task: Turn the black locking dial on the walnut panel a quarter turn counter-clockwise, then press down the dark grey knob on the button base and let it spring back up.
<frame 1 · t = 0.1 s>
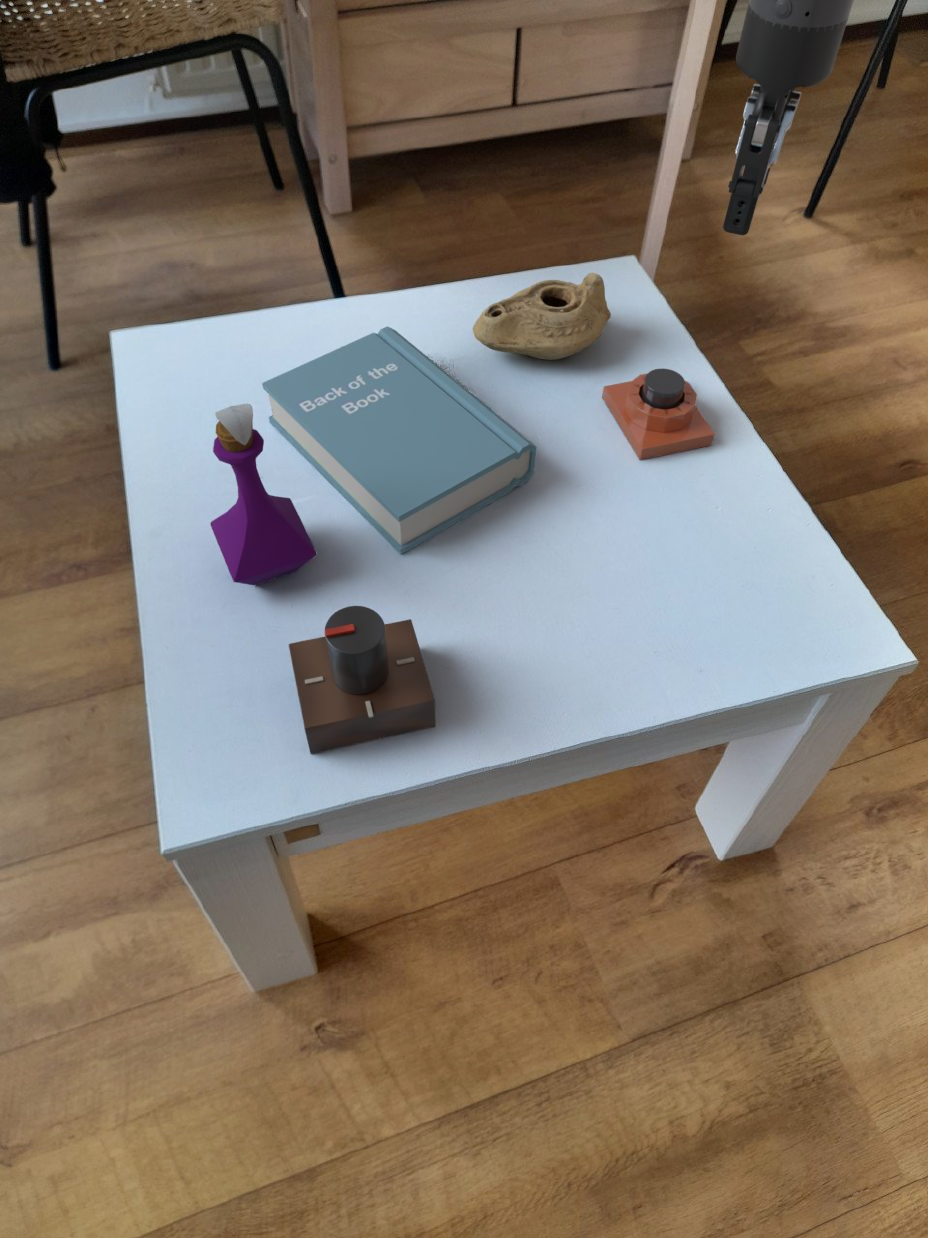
hand: (744, 207, 83), 20 cm above the table, tool pointing down, fingers open, 8 cm apart
perfume bottle: (268, 563, 84), on the table
book: (398, 451, 93), on the table
dark grey knob: (663, 389, 93), point 4 cm above the table, slide at 0.1 cm
dial: (357, 649, 70), point 7 cm above the table, hinge at 0.0°
dial panel: (363, 698, 75), on the table
button base: (655, 420, 96), on the table
oil lamp: (539, 349, 103), on the table
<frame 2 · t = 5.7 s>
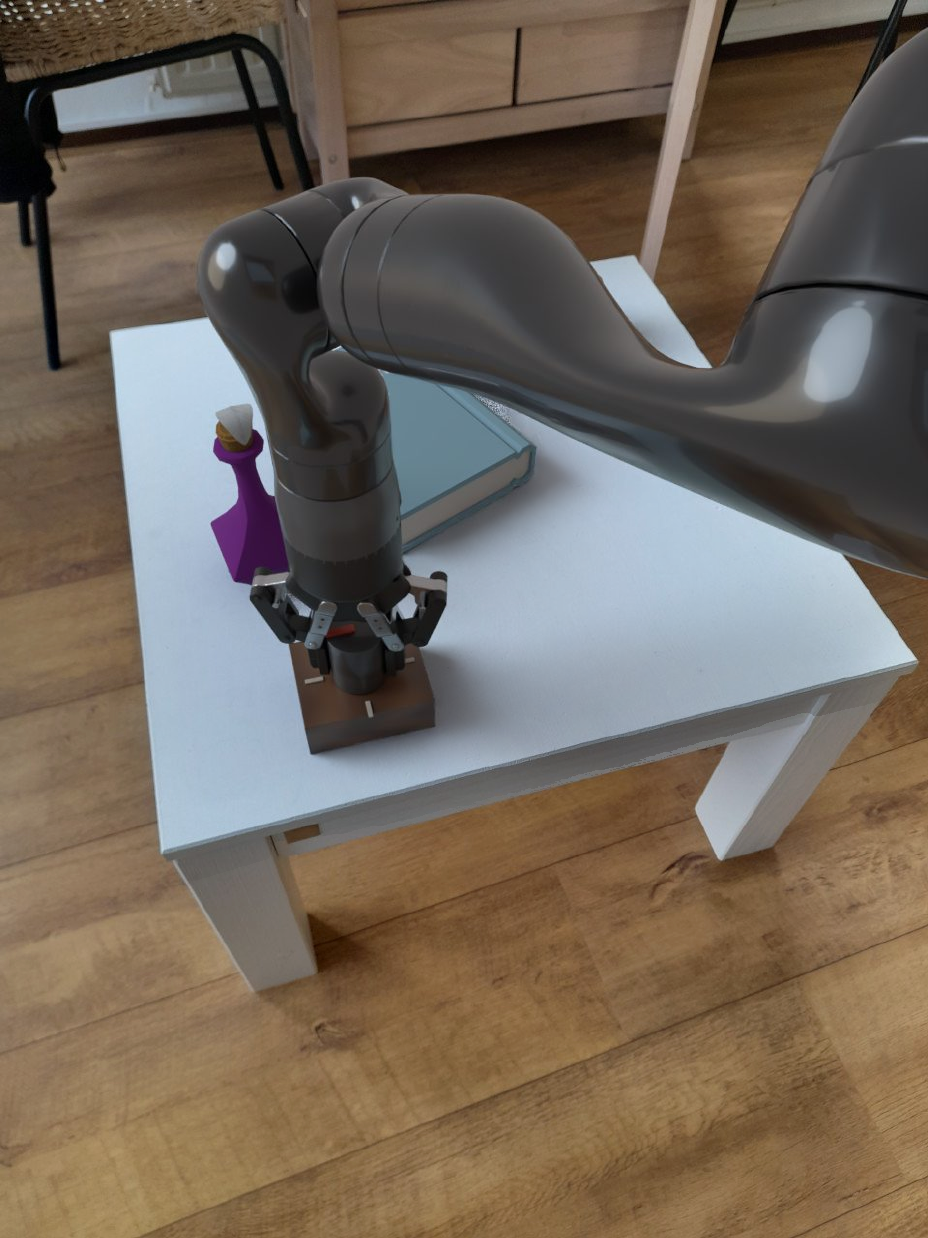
hand: (359, 665, 71), 5 cm above the table, tool pointing down, fingers closed on dial, 4 cm apart
dial: (357, 649, 70), point 7 cm above the table, hinge at 0.1°, touching gripper
everything else where it was.
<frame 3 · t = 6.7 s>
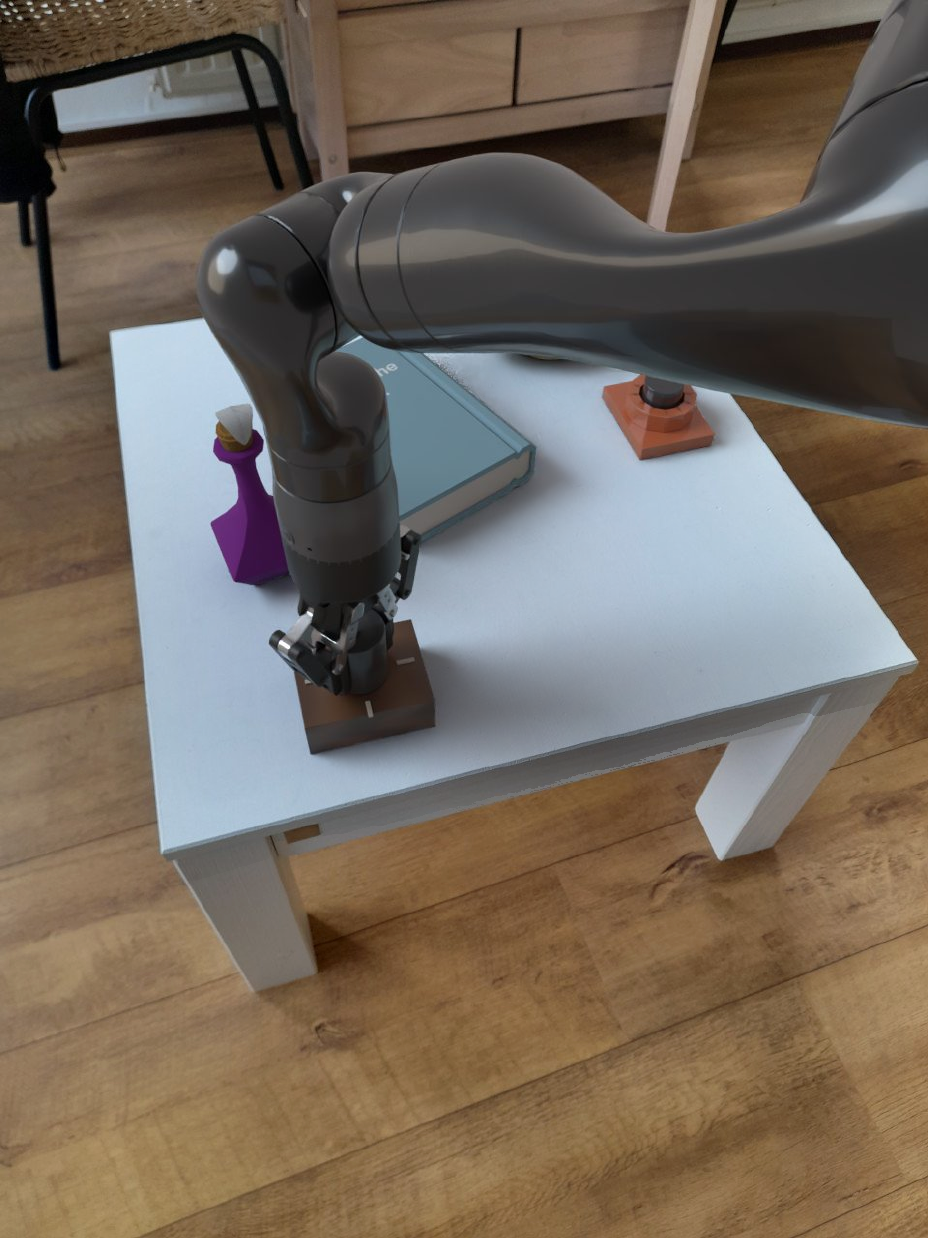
hand: (359, 664, 71), 5 cm above the table, tool pointing down, fingers closed on dial, 4 cm apart
dial: (357, 649, 70), point 7 cm above the table, hinge at 56.0°, touching gripper
everything else where it was.
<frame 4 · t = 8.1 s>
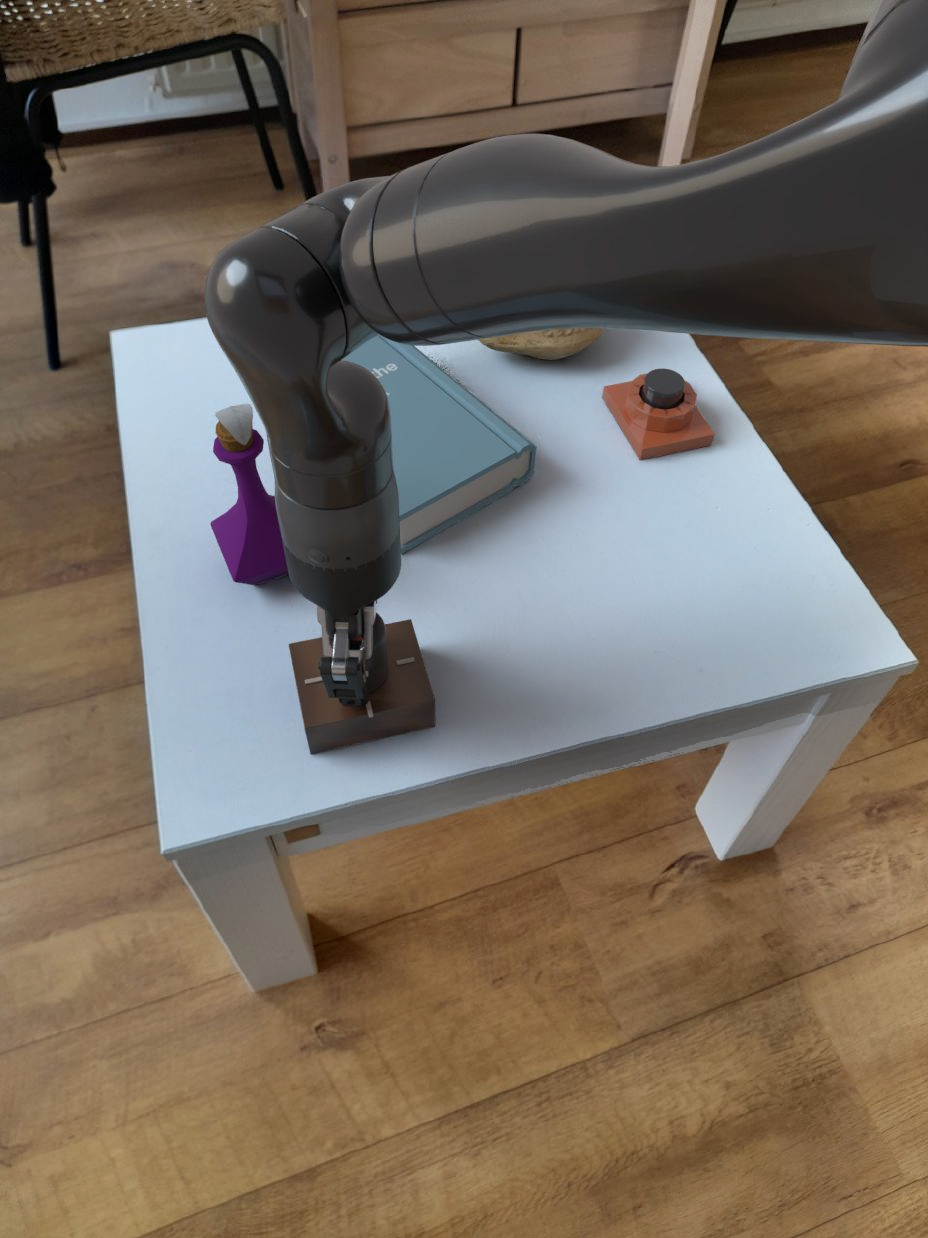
hand: (357, 670, 72), 4 cm above the table, tool pointing down, fingers open, 4 cm apart
dial: (357, 649, 70), point 7 cm above the table, hinge at 92.1°
everything else where it was.
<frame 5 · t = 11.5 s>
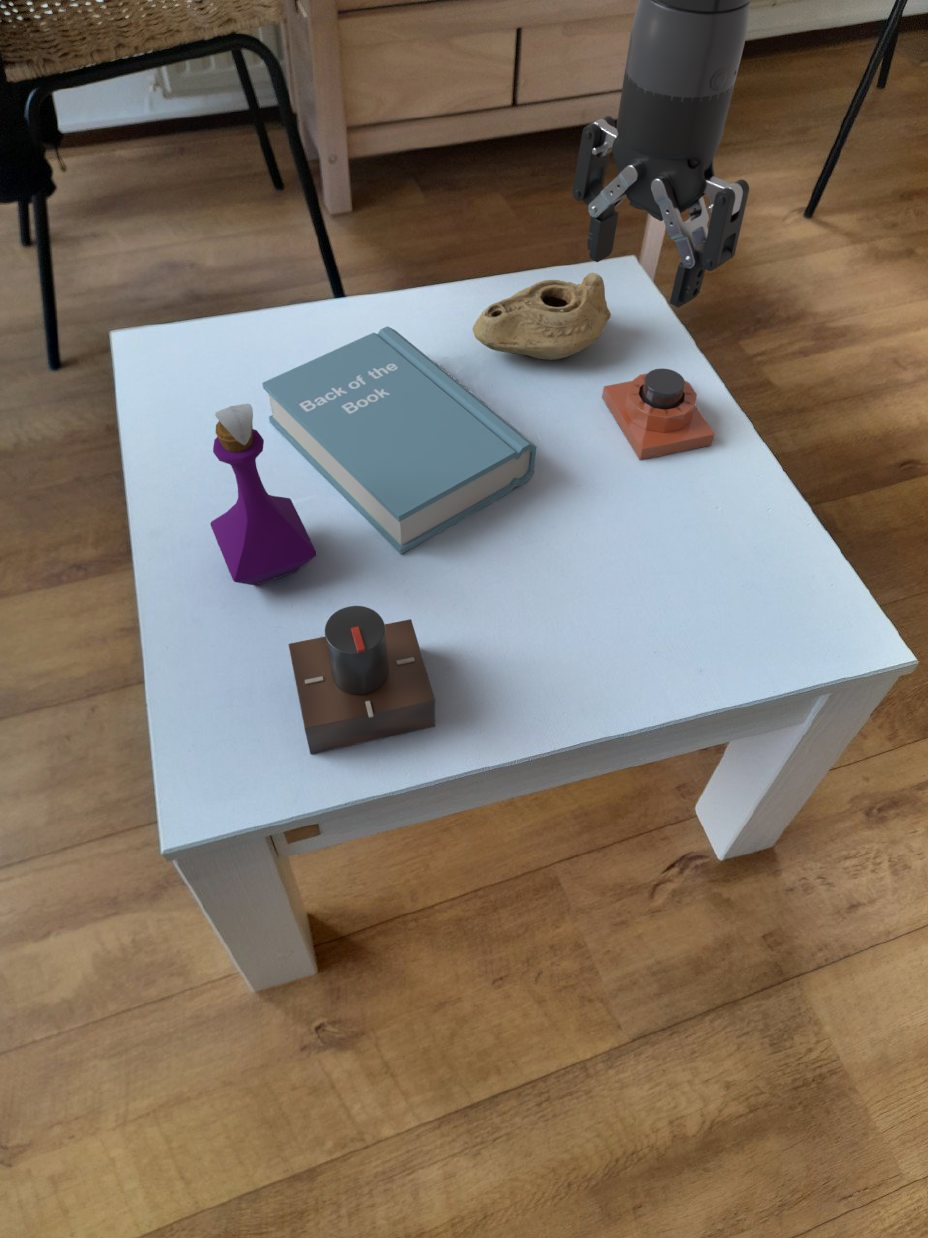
hand: (639, 278, 76), 20 cm above the table, tool pointing down, fingers open, 8 cm apart
nothing on the table moved.
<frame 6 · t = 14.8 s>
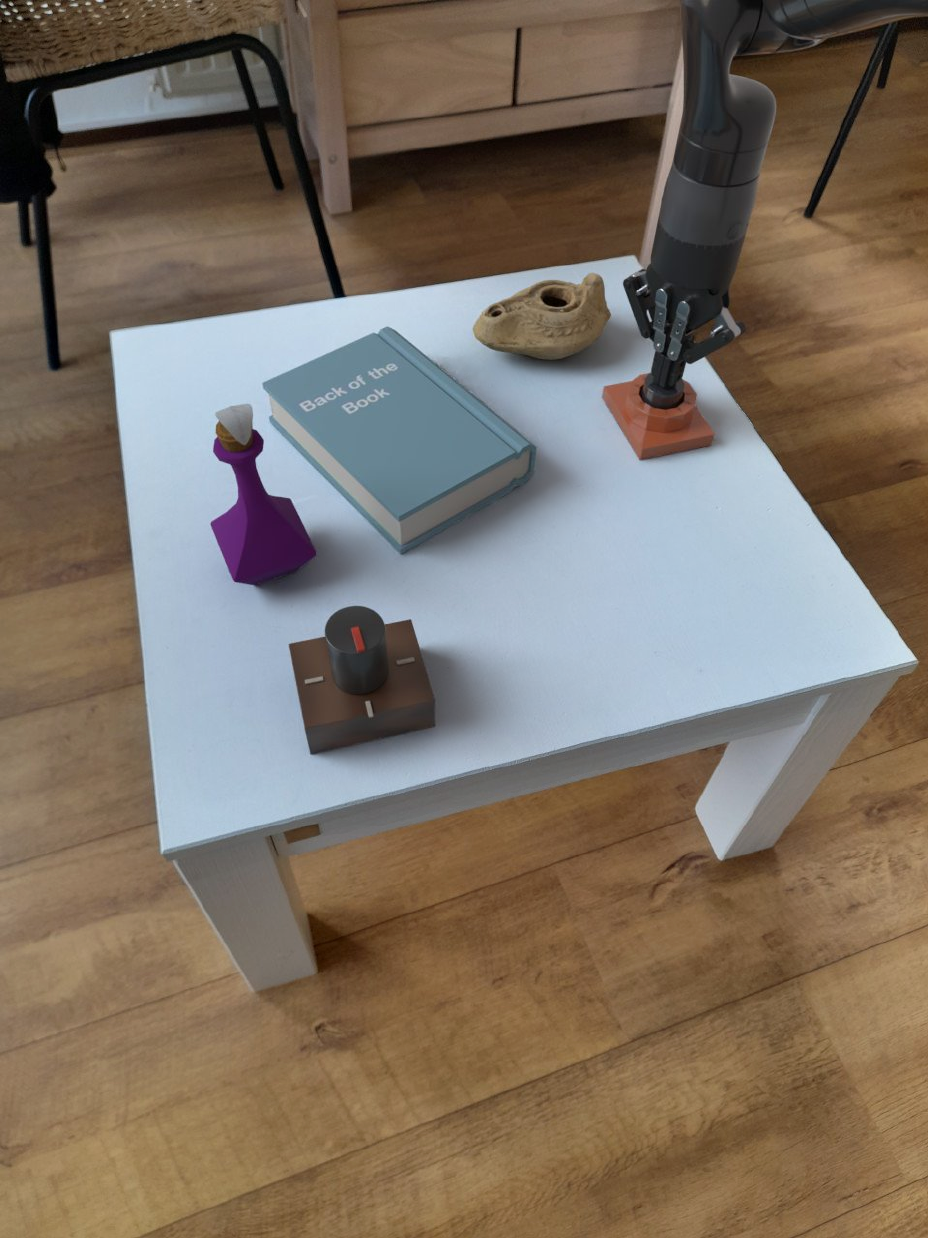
hand: (664, 382, 92), 5 cm above the table, tool pointing down, fingers closed
dark grey knob: (662, 390, 93), point 4 cm above the table, slide at -0.1 cm, touching gripper
everything else where it was.
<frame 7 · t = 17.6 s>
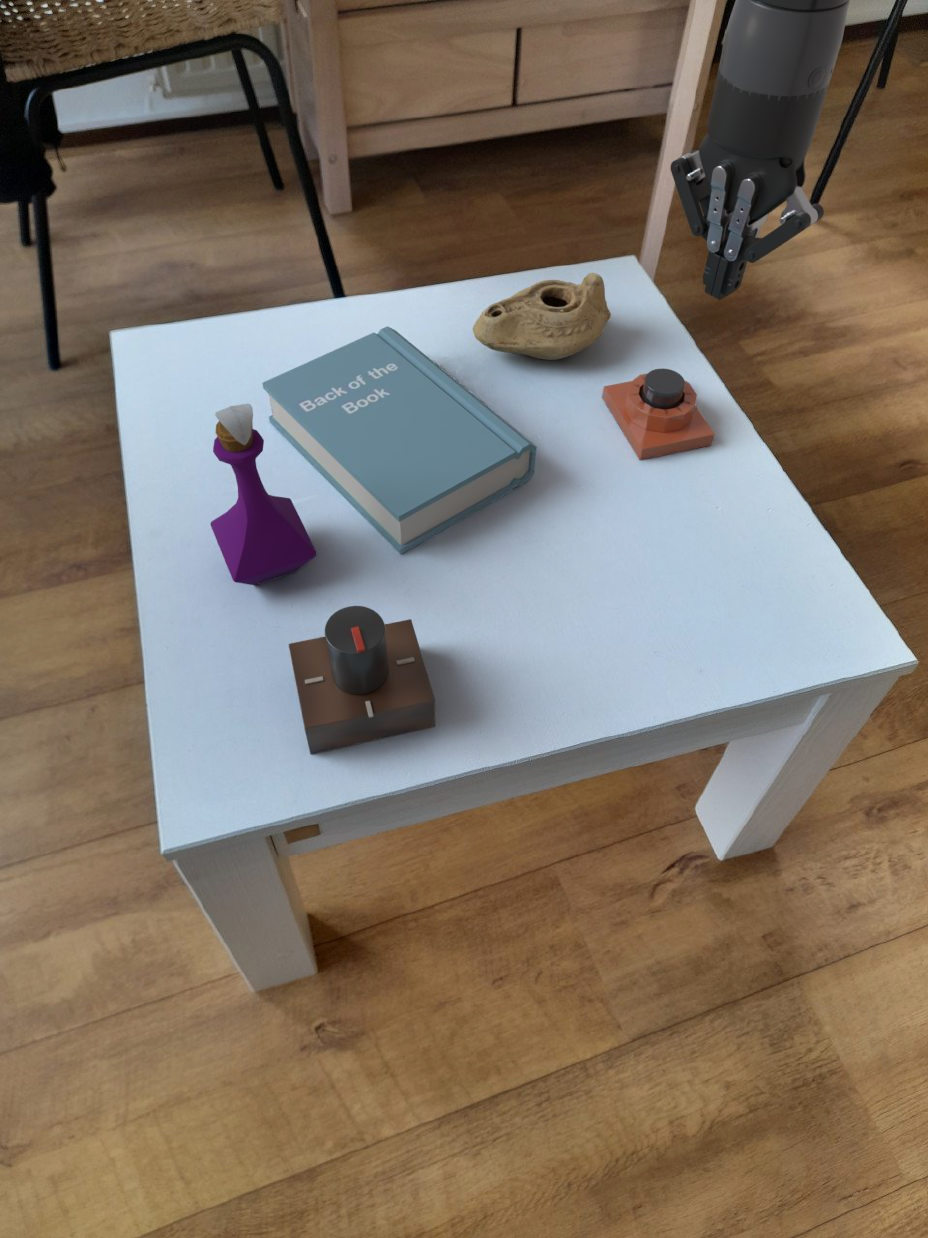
hand: (718, 292, 77), 19 cm above the table, tool pointing down, fingers closed
dark grey knob: (663, 389, 93), point 4 cm above the table, slide at 0.1 cm
everything else where it was.
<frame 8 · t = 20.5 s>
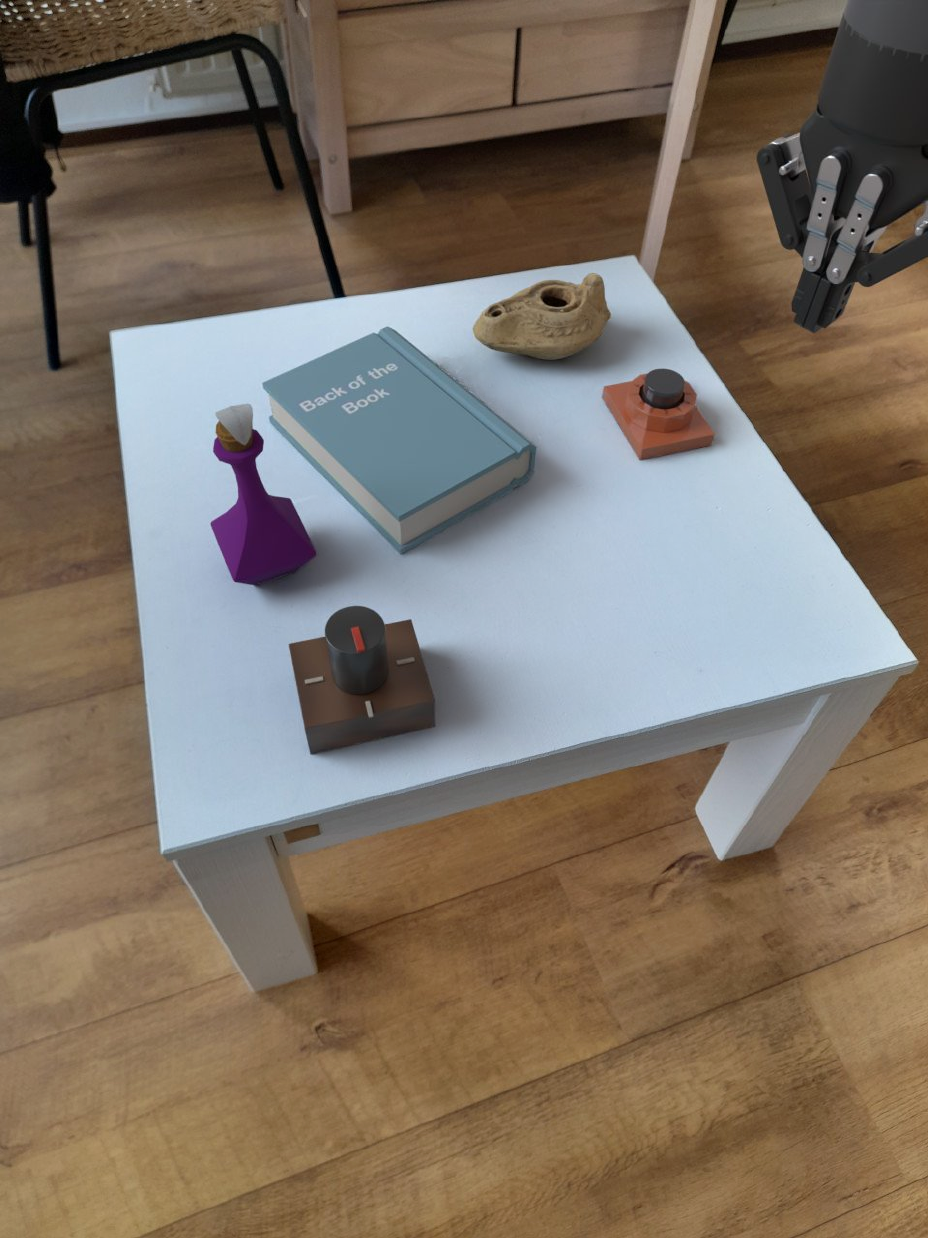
hand: (811, 322, 58), 29 cm above the table, tool pointing down, fingers closed
nothing on the table moved.
at the end: dial at +92° (first picture: +0°); dark grey knob pushed in 1.2 cm at the most during the clip, back to where it started at the end; dark grey knob slide at 0.1 cm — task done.
